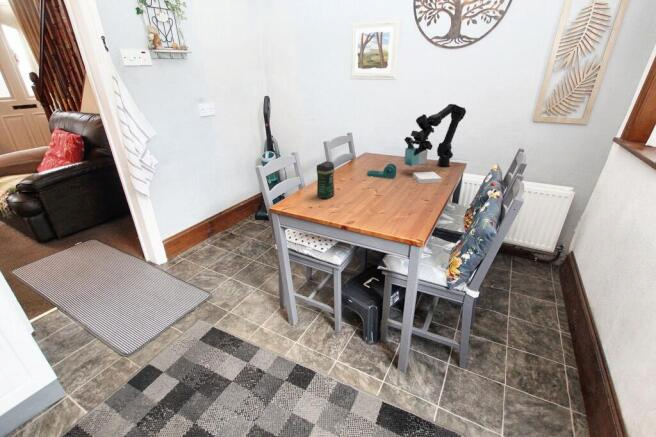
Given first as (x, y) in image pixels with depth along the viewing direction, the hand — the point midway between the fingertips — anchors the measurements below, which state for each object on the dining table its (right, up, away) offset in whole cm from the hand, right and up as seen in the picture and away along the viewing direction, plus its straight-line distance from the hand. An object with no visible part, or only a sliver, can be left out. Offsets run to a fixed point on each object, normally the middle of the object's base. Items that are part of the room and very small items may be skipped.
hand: (410, 154), depth 187 cm
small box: (+15, -1, +29) cm, 33 cm away
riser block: (+9, -16, -2) cm, 19 cm away
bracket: (-17, -13, +6) cm, 23 cm away
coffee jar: (-52, -28, -24) cm, 64 cm away
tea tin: (+1, -6, +4) cm, 7 cm away
